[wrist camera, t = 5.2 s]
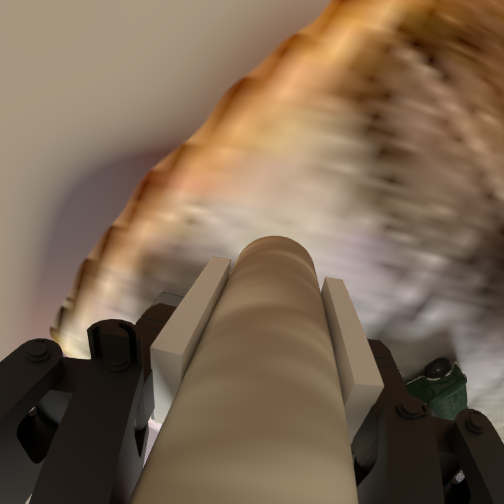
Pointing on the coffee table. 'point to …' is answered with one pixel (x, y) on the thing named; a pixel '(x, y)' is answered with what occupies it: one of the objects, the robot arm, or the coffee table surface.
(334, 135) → the coffee table surface
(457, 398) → the miniature car
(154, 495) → the peg
